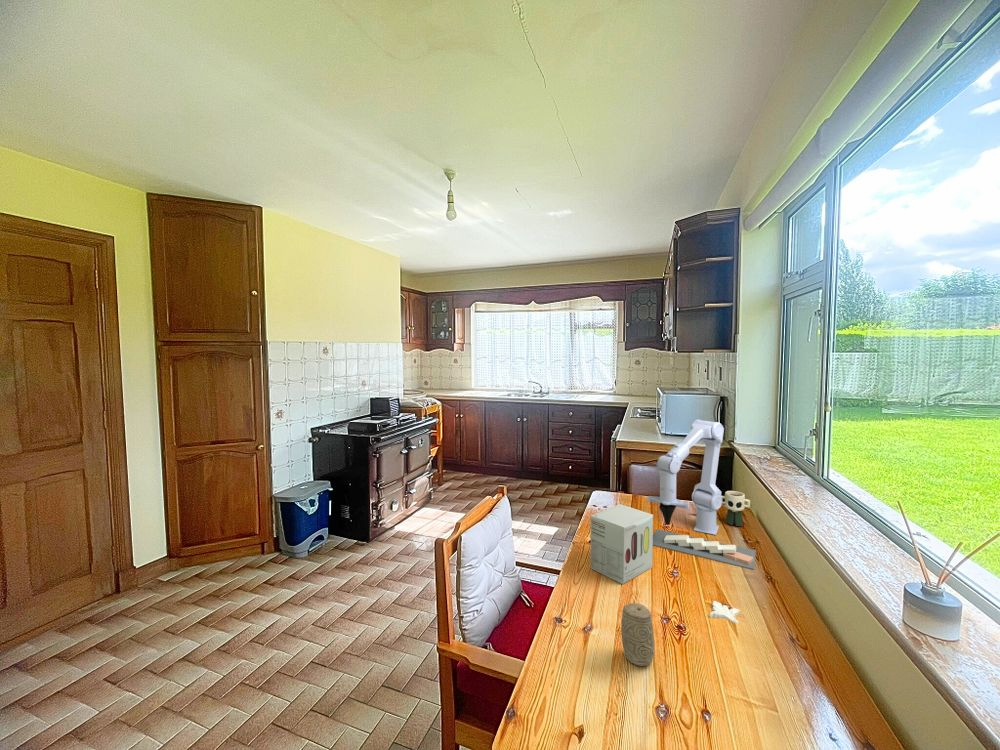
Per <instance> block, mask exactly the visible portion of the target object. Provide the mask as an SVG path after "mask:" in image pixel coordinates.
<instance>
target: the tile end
mask: <svg viewBox="0 0 1000 750" xmlns="http://www.w3.org/2000/svg"><path fill="white" fill-rule="evenodd" d="M723 557H726V558H729V559H732V560H735V561H738V562H741V563H744V564H747V565H750V564H751V563H752V562H753V559H754V557H751V556H748V555H745V554H742V553H739V552H736V553H723Z"/></svg>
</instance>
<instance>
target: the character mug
mask: <svg viewBox="0 0 1000 750" xmlns="http://www.w3.org/2000/svg"><path fill="white" fill-rule="evenodd" d="M745 495H746V494H745V493H743V492H740V491H736V490H727V491H725V492H724V495H721V499H722V505H724V506H725V508H726V509H727V512H726V517H725V522H726V524H728V525H730V526H734V525H735V526H736V527H741V526H743V525H744V518H743V512H742V511H744V509H745V508H749V509H750V507H751V499H747V498H746V496H745ZM723 500H724V501H723ZM745 502H747V503H746V504H745Z"/></svg>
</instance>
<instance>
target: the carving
mask: <svg viewBox="0 0 1000 750" xmlns="http://www.w3.org/2000/svg"><path fill="white" fill-rule="evenodd" d="M622 608H623V609H622V614H621V625H620V627H621V628H620V633H621V642H622V643H621V645H622V647H623V652H624V656H625V658H626V659H627V660H628V661H629V663H632V664H633V665H636V666H639V667H643V666H644V667H645V666H648V665H650V664H651V663H652V662H653V661H654V657H655V637H654V635H653V634H654V627H653V619H652V614H651V611H650V610H649V608H647V606H645V605H644V604H642V603H639V602H632V603H627V604H625V605H624V606H623V607H622Z"/></svg>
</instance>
